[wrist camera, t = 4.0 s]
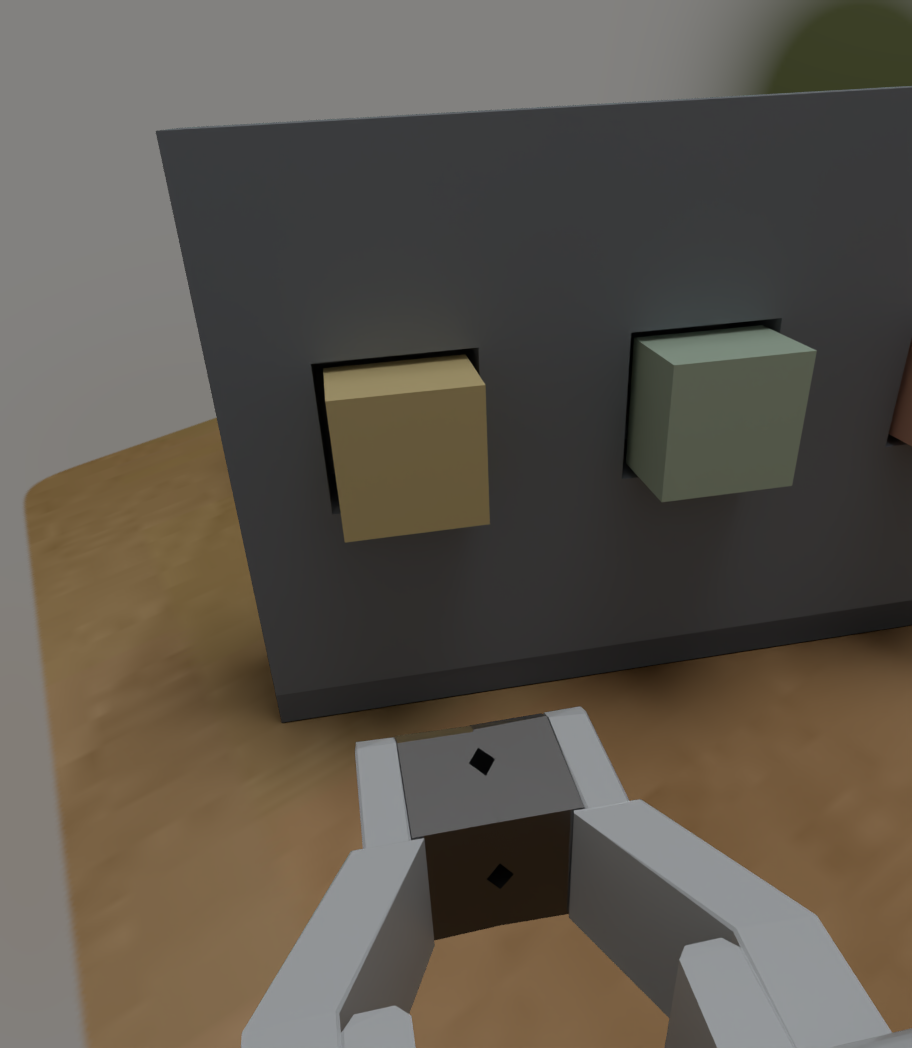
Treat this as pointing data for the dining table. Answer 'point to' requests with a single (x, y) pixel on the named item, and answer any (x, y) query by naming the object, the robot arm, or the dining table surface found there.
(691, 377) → the sage button
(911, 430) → the terracotta button
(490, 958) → the dining table surface
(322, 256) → the console
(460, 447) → the ochre button
